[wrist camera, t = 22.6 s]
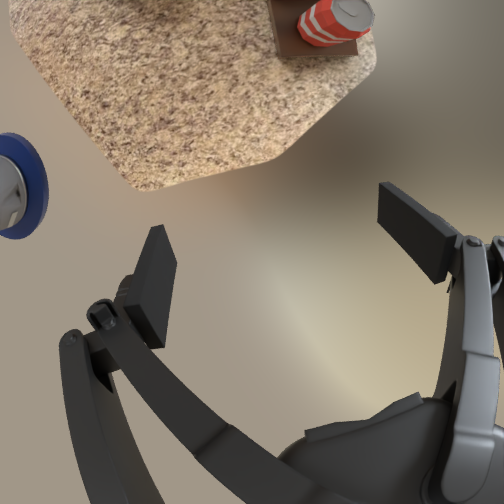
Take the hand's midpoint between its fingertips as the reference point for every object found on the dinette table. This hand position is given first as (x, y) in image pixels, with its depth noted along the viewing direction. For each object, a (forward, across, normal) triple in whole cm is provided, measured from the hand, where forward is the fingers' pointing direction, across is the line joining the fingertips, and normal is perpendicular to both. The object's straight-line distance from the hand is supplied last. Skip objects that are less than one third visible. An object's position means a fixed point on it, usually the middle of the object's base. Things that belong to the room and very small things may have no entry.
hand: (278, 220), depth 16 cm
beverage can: (+26, +14, +16) cm, 34 cm away
